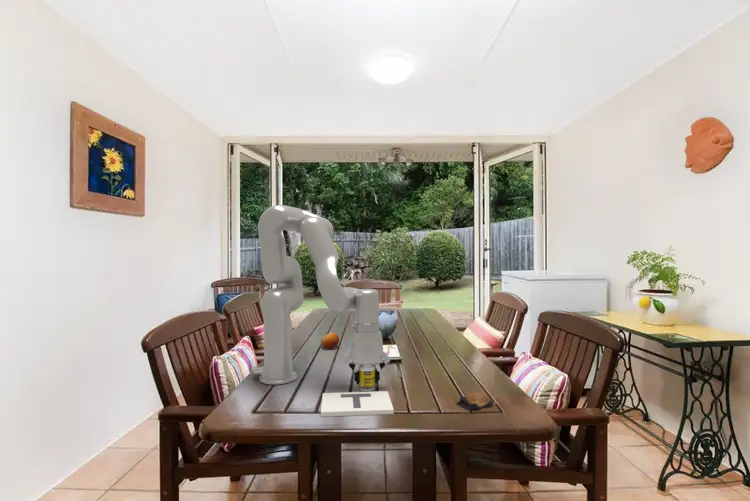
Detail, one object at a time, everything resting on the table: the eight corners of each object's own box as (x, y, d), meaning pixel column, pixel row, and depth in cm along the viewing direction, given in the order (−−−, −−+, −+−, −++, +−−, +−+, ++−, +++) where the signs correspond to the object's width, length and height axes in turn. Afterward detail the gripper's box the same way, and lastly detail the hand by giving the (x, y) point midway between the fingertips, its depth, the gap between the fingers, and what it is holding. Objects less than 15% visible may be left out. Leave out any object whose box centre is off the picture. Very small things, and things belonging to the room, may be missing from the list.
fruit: (342, 347, 177) (333, 331, 177) (327, 356, 177) (317, 340, 177) (344, 342, 185) (335, 327, 185) (329, 351, 185) (320, 336, 185)
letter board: (320, 416, 109) (320, 411, 109) (322, 397, 123) (322, 392, 123) (393, 414, 111) (393, 408, 111) (387, 394, 125) (387, 390, 125)
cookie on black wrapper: (476, 397, 125) (476, 385, 125) (498, 406, 118) (498, 393, 118) (452, 405, 119) (452, 392, 119) (474, 415, 112) (474, 401, 112)
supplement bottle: (363, 392, 127) (363, 361, 126) (355, 387, 131) (355, 357, 131) (378, 390, 129) (378, 359, 129) (370, 384, 134) (370, 355, 134)
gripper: (340, 330, 125) (340, 388, 126) (395, 329, 127) (394, 386, 127) (340, 325, 133) (340, 379, 133) (391, 324, 134) (391, 378, 135)
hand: (367, 382), depth 130 cm, fingers closed on supplement bottle, 5 cm apart
